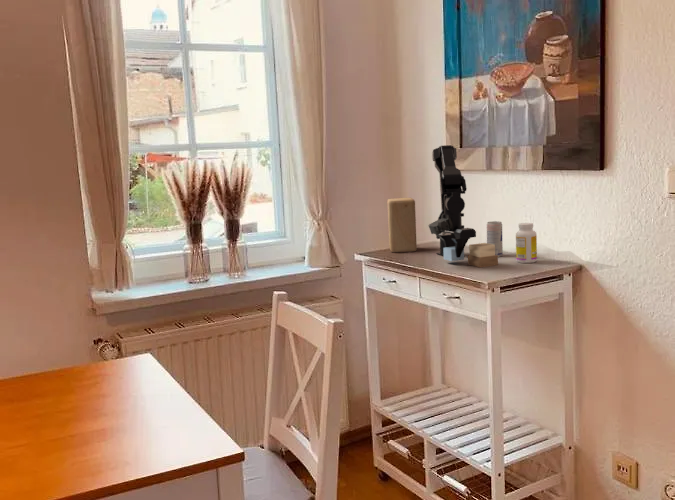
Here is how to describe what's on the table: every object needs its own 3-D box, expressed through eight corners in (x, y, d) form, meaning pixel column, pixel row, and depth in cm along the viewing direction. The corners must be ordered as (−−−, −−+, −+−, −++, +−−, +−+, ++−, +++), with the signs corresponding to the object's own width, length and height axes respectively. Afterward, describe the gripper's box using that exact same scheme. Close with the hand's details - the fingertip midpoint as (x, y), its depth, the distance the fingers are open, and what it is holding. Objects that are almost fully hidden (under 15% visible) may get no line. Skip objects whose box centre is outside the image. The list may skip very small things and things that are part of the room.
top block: (443, 259, 233) (443, 247, 233) (456, 257, 235) (455, 246, 235) (451, 261, 229) (451, 249, 228) (464, 259, 231) (464, 247, 230)
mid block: (469, 255, 228) (469, 244, 228) (484, 253, 230) (484, 242, 230) (479, 257, 223) (479, 246, 222) (495, 255, 225) (495, 244, 224)
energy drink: (503, 254, 244) (502, 221, 242) (501, 257, 239) (501, 223, 237) (488, 254, 246) (487, 221, 244) (486, 257, 241) (485, 223, 239)
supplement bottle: (534, 259, 231) (534, 221, 229) (538, 263, 224) (538, 224, 222) (514, 260, 232) (514, 222, 230) (517, 263, 225) (517, 225, 223)
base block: (468, 265, 229) (467, 255, 228) (485, 262, 232) (485, 252, 231) (480, 268, 222) (479, 257, 222) (497, 265, 225) (497, 255, 225)
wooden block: (417, 251, 260) (415, 199, 257) (390, 253, 260) (388, 200, 257) (414, 247, 270) (412, 197, 267) (389, 249, 270) (387, 198, 267)
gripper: (417, 210, 235) (419, 255, 237) (447, 214, 218) (448, 262, 220) (445, 207, 239) (446, 251, 241) (476, 211, 222) (477, 259, 224)
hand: (453, 256), depth 232 cm, fingers closed on top block, 5 cm apart
